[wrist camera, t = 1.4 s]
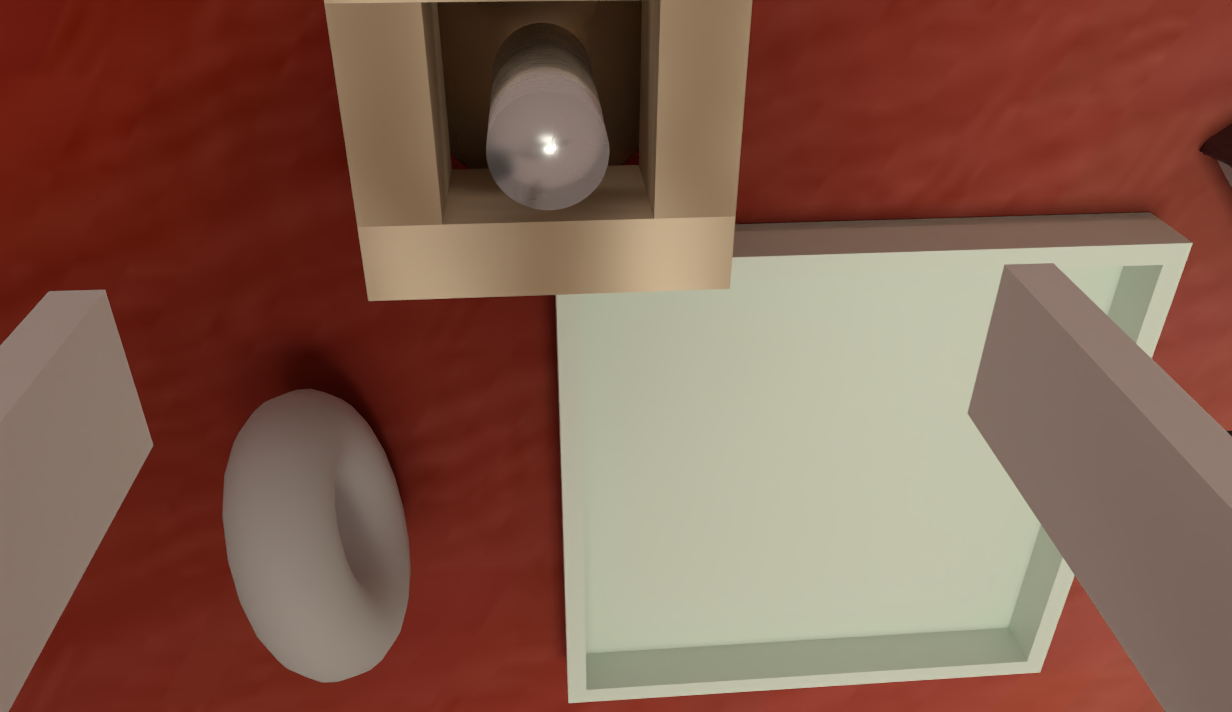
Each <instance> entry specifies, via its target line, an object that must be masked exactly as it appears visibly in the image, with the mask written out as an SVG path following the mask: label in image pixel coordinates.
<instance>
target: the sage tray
mask: <svg viewBox="0 0 1232 712" xmlns="http://www.w3.org/2000/svg"><path fill="white" fill-rule="evenodd" d="M1192 244H1193V243H1192V242H1191V241H1189V240H1188V239H1187V238H1185V237H1184V236H1182V235H1181V234H1180V233H1178V232H1177V231H1176V230H1174V229H1173V228H1171V227H1170V226H1169V225H1167V224H1166V223H1164V222H1163V221H1162V220H1160V219H1159V218H1158V217H1156V216H1155V215H1153V214H1152V213H1151V212H1142V213H1107V214H1072V215H1038V216H1003V217H968V218H933V219H898V220H864V221H829V222H794V223H759V224H735V229H734V242H733V255H732V268H731V280H730V289H713V290H683V291H653V292H624V293H594V294H565V295H555V308H556V341H557V373H558V406H559V438H560V471H561V503H562V536H563V568H564V601H565V633H566V662H567V682H568V703H578V702H594V701H609V700H624V699H640V698H655V697H670V696H686V695H701V694H716V693H732V692H747V691H762V690H778V689H793V688H808V687H823V686H839V685H854V684H869V683H885V682H900V681H915V680H931V679H946V678H961V677H977V676H992V675H1007V674H1023V673H1038V672H1040V671H1041V668H1042V665H1043V662H1044V660H1045V657H1046V654H1047V651H1048V648H1049V646H1050V643H1051V640H1052V637H1053V634H1054V632H1055V629H1056V626H1057V623H1058V620H1059V617H1060V615H1061V612H1062V609H1063V606H1064V603H1065V601H1066V598H1067V595H1068V592H1069V589H1070V587H1071V584H1072V581H1073V578H1074V573H1073V572H1072V570H1071V569H1070V567H1069V566H1068V564H1067V563H1066V561H1065V560H1064V558H1063V557H1062V555H1061V554H1060V552H1059V551H1058V549H1057V548H1056V546H1055V545H1054V543H1053V542H1052V540H1051V539H1050V537H1049V536H1048V534H1047V533H1046V531H1045V530H1044V528H1043V527H1042V525H1041V524H1040V522H1039V521H1038V519H1037V518H1036V516H1035V515H1034V513H1033V512H1032V510H1031V509H1030V507H1029V506H1028V504H1027V503H1026V501H1025V500H1024V498H1023V497H1022V495H1021V494H1020V492H1019V491H1018V489H1017V488H1016V486H1015V485H1014V483H1013V482H1012V480H1011V478H1010V477H1009V475H1008V474H1007V472H1006V471H1005V469H1004V468H1003V466H1002V465H1001V463H1000V462H999V460H998V459H997V457H996V456H995V454H994V453H993V451H992V450H991V448H990V447H989V445H988V444H987V442H986V441H985V439H984V438H983V436H982V435H981V433H980V432H979V430H978V429H977V427H976V426H975V424H974V423H973V421H972V420H971V418H970V417H969V415H968V414H967V413H968V409H969V405H970V401H971V397H972V393H973V389H974V385H975V381H976V377H977V373H978V369H979V365H980V361H981V357H982V353H983V349H984V345H985V341H986V337H987V332H988V328H989V324H990V320H991V316H992V312H993V308H994V304H995V300H996V296H997V292H998V288H999V284H1000V280H1001V276H1002V272H1003V268H1004V265H1006V264H1041V263H1054V264H1055V265H1056V266H1057V267H1058V268H1059V269H1060V270H1061V271H1062V272H1063V273H1064V274H1065V275H1066V276H1067V277H1068V278H1069V279H1070V280H1071V281H1072V282H1073V283H1074V284H1075V285H1076V286H1077V287H1078V288H1079V289H1080V290H1082V291H1083V292H1084V293H1085V294H1086V295H1087V296H1088V297H1089V298H1090V299H1091V300H1092V301H1093V302H1094V303H1095V304H1096V305H1097V306H1098V307H1099V308H1100V309H1101V310H1102V311H1103V312H1104V313H1105V314H1106V315H1107V316H1108V317H1109V318H1110V319H1111V320H1112V321H1113V322H1114V323H1115V324H1116V325H1118V326H1119V327H1120V328H1121V329H1122V330H1123V331H1124V332H1125V333H1126V334H1127V335H1128V336H1129V337H1130V338H1131V339H1132V340H1133V341H1134V342H1135V343H1136V344H1137V345H1138V346H1139V347H1140V348H1141V349H1142V350H1143V351H1144V352H1145V353H1146V354H1147V355H1148V356H1149V357H1150V358H1151V359H1152V356H1153V353H1154V350H1155V348H1156V345H1157V342H1158V339H1159V336H1160V334H1161V331H1162V328H1163V325H1164V322H1165V320H1166V317H1167V314H1168V311H1169V308H1170V306H1171V303H1172V300H1173V297H1174V294H1175V291H1176V289H1177V286H1178V283H1179V280H1180V277H1181V275H1182V272H1183V269H1184V266H1185V263H1186V261H1187V258H1188V255H1189V252H1190V249H1191V246H1192Z"/></svg>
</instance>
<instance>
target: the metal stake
mask: <svg viewBox="0 0 1232 712" xmlns="http://www.w3.org/2000/svg"><path fill="white" fill-rule="evenodd" d="M437 7H438V18H439V30H440V41H441V52H442V64H443V75H444V86H445V98H446V109H447V120H448V132H449V143H450V152H451V153H452V154H453V155H454V156H455V157H456V158H457V159H458V160H459V161H460V162H462V163H463V164H464V165H466V166H467V167H468V168H470V169H489V170H490V172H491V175H492V177H493V179H494V180H495V182H496V184H497V185H498V186H499V187H500V189H501V190H502V191H503V192H504V193H505V194H506V195H507V196H509V197H510V198H511V199H513V200H514V201H516V202H518V203H520V204H522V205H524V206H527V207H530V208H533V209H539V210H558V209H563V208H567V207H570V206H572V205H575V204H577V203H579V202H580V201H582V200H583V199H585V198H586V197H588V196H589V195H590V194H591V193H592V192H593V191H594V190H595V189H596V188H597V186H598V185H599V183H600V182H601V180H602V179H603V177H604V175H605V172H606V169H607V166H616V165H622V164H623V163H624V162H625V161H626V160H628V159H629V158H630V157H631V156H632V155H633V154H634V153H635V152H636V150H637V149H638V148H639V127H640V76H641V26H642V0H585V1H496V2H437Z"/></svg>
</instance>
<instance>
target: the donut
mask: <svg viewBox="0 0 1232 712" xmlns="http://www.w3.org/2000/svg"><path fill="white" fill-rule="evenodd" d="M222 516H223V525H224V533H225V541H226V549H227V558H228V563H229V566H230V570H231V573H232V576H233V580H234V583H235V587H236V590H237V594H238V597H239V601H240V604H241V606H242V608H243V610H244V612H245V614H246V616H247V618H248V620H249V622H250V624H251V626H252V628H253V630H254V632H255V634H256V636H257V637H258V639H259V640H260V641H261V642H262V643H263V644H264V645H265V647H266V648H267V649H268V650H269V651H270V652H271V653H272V655H273V656H274V657H275V658H276V659H277V660H278V661H279V662H280V663H281V664H282V665H284V666H285V667H286V668H287V669H289V670H291V671H294V672H296V673H298V674H300V675H303V676H305V677H307V678H310V679H313V680H316V681H319V682H339V681H342V680H345V679H348V678H351V677H354V676H357V675H359V674H362V673H364V672H367V671H369V670H371V669H372V668H373V667H374V666H376V665H377V664H378V663H379V662H380V661H381V660H382V659H383V658H384V656H385V655H386V653H387V652H388V650H389V649H390V647H391V646H392V645H393V643H394V641H395V640H396V638H397V637H398V635H399V633H400V631H401V627H402V624H403V620H404V616H405V612H406V609H407V604H408V598H409V584H410V553H409V539H408V533H407V526H406V520H405V514H404V508H403V505H402V501H401V497H400V494H399V490H398V486H397V483H396V479H395V476H394V474H393V471H392V469H391V466H390V464H389V461H388V458H387V456H386V453H385V451H384V450H383V448H382V446H381V444H380V443H379V441H378V439H377V437H376V436H375V434H374V432H373V430H372V429H371V427H370V426H369V424H368V423H367V422H366V420H365V419H364V418H363V417H362V416H361V415H360V414H359V413H358V412H357V411H356V410H355V409H354V408H353V407H352V406H351V405H350V404H348V403H347V402H345V401H344V400H342V399H340V398H338V397H335V396H333V395H330V394H328V393H325V392H322V391H318V390H314V389H299V390H294V391H291V392H288V393H286V394H283V395H280V396H278V397H275V398H273V399H271V400H268V401H266V402H264V403H263V404H262V405H260V406H259V407H258V408H257V409H256V410H255V411H254V412H253V413H252V415H251V416H250V417H249V419H248V420H247V422H246V423H245V425H244V426H243V427H242V429H241V430H240V432H239V433H238V435H237V437H236V439H235V441H234V443H233V446H232V450H231V453H230V457H229V461H228V464H227V468H226V471H225V475H224V494H223V515H222Z"/></svg>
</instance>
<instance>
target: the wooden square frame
mask: <svg viewBox="0 0 1232 712" xmlns="http://www.w3.org/2000/svg"><path fill="white" fill-rule="evenodd" d="M496 1H585V0H324V5H325V11H326V18H327V25H328V32H329V38H330V45H331V52H332V59H333V66H334V72H335V79H336V86H337V93H338V99H339V106H340V113H341V120H342V126H343V133H344V140H345V147H346V153H347V160H348V167H349V174H350V180H351V187H352V194H353V201H354V207H355V214H356V221H357V228H358V235H359V241H360V248H361V255H362V262H363V268H364V275H365V282H366V289H367V295H368V301H387V300H417V299H446V298H476V297H505V296H535V295H565V294H594V293H624V292H653V291H683V290H713V289H730V280H731V268H732V255H733V242H734V229H735V216H736V203H737V191H738V178H739V165H740V152H741V139H742V127H743V114H744V101H745V88H746V75H747V62H748V50H749V37H750V24H751V11H752V0H642V26H641V76H640V127H639V165H616V166H607V169H606V172H605V175H604V177H603V179H602V180H601V182H600V183H599V185H598V186H597V188H596V189H595V190H594V191H593V192H592V193H591V194H590V195H589V196H588V197H586V198H585V199H583V200H582V201H580V202H579V203H577V204H575V205H572V206H570V207H567V208H563V209H558V210H539V209H533V208H530V207H527V206H524V205H522V204H520V203H518V202H516V201H514V200H513V199H511V198H510V197H509V196H507V195H506V194H505V193H504V192H503V191H502V190H501V189H500V187H499V186H498V185H497V184H496V182H495V180H494V179H493V177H492V175H491V172H490V170H489V169H452V166H451V154H450V143H449V132H448V120H447V109H446V98H445V86H444V75H443V64H442V52H441V41H440V30H439V18H438V7H437V2H496Z"/></svg>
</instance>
